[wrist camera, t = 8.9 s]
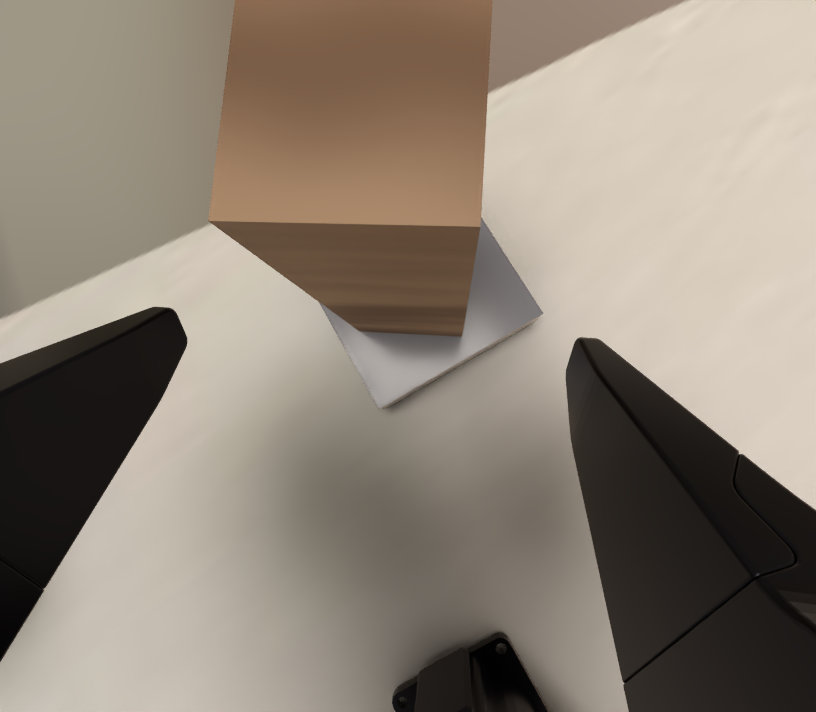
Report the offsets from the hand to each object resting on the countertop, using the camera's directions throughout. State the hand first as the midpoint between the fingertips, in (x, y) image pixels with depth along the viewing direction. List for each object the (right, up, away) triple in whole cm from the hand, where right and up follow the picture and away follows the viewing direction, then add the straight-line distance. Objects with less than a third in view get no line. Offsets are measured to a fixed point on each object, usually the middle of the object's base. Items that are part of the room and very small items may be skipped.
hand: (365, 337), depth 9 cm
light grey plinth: (+1, +3, +13) cm, 14 cm away
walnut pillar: (+1, +3, +11) cm, 11 cm away
